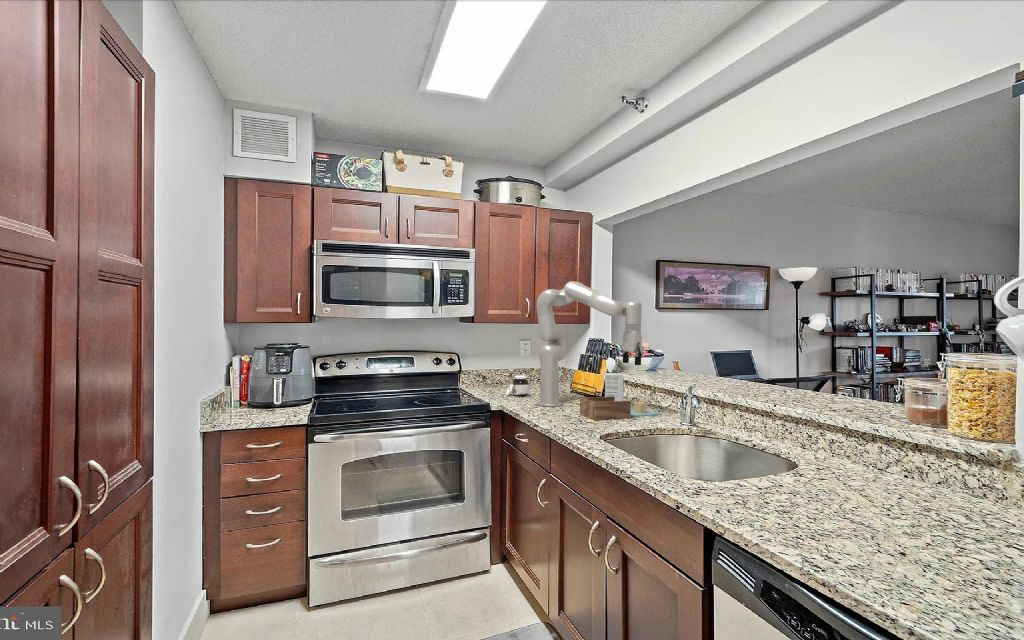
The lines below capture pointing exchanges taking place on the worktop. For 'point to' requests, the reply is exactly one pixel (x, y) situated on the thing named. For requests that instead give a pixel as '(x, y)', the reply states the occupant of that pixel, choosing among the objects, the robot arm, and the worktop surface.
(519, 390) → the spread jar
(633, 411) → the cover plate
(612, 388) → the supplement box
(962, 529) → the worktop surface
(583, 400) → the slide box
